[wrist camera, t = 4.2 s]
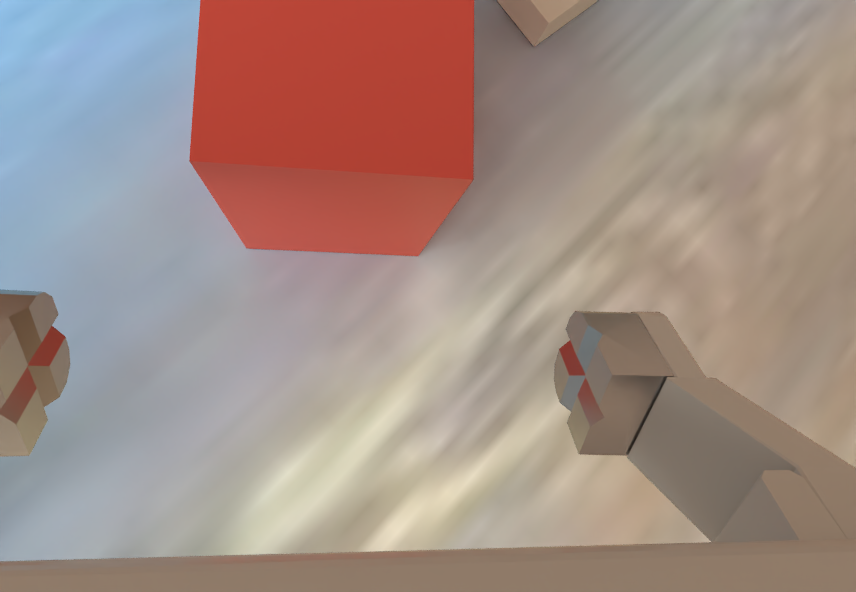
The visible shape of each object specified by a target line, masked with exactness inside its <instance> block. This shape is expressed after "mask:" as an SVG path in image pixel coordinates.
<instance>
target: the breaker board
mask: <svg viewBox="0 0 856 592" xmlns="http://www.w3.org/2000/svg"><path fill="white" fill-rule="evenodd" d="M497 1H498V3H499V4H500V5H501V6H502V8H503V9H504V10H505V11H506V13H507V14H508V15H509V16H510V18H511V19H512V20H513V21H514V23H515V24H516V25H517V26H518V27H519V29H520V30H521V31H522V32H523V34H524V35H525V36H526V37H527V39H528V40H529V41H530V42H531V44H532V45H533V46H534V47H535V46H536V45H538V44H539V43H540V42H542V41H543V40H545V39H546V38H547V37H549V36H550V35H552V34H553V33H554V32H556V31H557V30H558V29H560V28H561V27H563V26H564V25H565V24H567V23H568V22H570V21H571V20H572V19H574V18H575V17H576V16H578V15H579V14H581V13H582V12H583V11H585V10H586V9H588V8H589V7H590V6H592V5H593V4H594V3H596V2H597V1H599V0H497Z"/></svg>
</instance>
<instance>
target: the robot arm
mask: <svg viewBox="0 0 856 592" xmlns="http://www.w3.org/2000/svg"><path fill="white" fill-rule="evenodd" d="M57 316H58V311H57V309H56V306H55V303H54V300H53V298H52V296H50V295H49V294H47V293H45V292H36V291H18V290H0V456H29V455H30V453H31V451H32V450H33V448H34V446H35V444H36V442H37V440H38V438H39V436H40V434H41V432H42V430H43V428H44V426H45V425H46V423H47V421H48V418H47V416H46V413H45V410H44V407H45V406H47V405H48V404H50V403H51V402H53V401H54V400H56V399H57V398H59V397H60V395H61V393H62V391H63V389H64V387H65V385H66V383H67V378H68V373H69V368H70V354H69V347H68V344H67V340H66V337H65V336H64V335H63V334H61V333H60V332H59V331H58V330H56V329H55V328H54V327H53V326H52V324H53V323H54V321H55V319H56V317H57ZM566 331H567V334H568V336H569V338H570V341H569V342H567V343H566V344H565V345H564V346H562V347H561V348H560V349H559V351H558V355H557V358H556V361H555V369H554V382H555V389H556V393H557V396H558V399H559V402H560V403H561V404H562V405H564V406H565V407H566V408H567V409H568V410H570V411H571V414H570V416H569V419H568V422H567V424H568V426H569V429H570V432H571V435H572V437H573V440H574V443H575V445H576V448H577V451H578V453H579V454H588V455H628V457H627V458H628V459H629V460H630V461H631V462H632V463H633V464H634V465H635V466H636V467H637V468H638V469H639V470H640V471H641V472H642V473H643V474H644V475H645V476H646V477H647V478H648V479H649V480H650V481H651V482H652V483H653V484H654V485H655V486H656V487H657V488H658V489H659V490H660V491H661V492H662V493H663V494H664V495H665V496H666V497H667V498H668V499H669V500H670V501H671V502H672V503H673V504H674V505H675V506H676V507H677V508H678V509H679V510H680V511H681V512H682V513H683V514H684V515H685V516H686V517H687V518H688V519H689V520H690V521H691V522H692V523H693V524H694V525H695V526H696V527H697V528H698V529H699V530H700V531H701V532H702V533H703V534H704V535H705V536H706V537H707V538H708V539H709V540H710V541H711V542H709V543H671V544H633V545H595V546H558V547H522V548H486V549H450V550H414V551H376V552H338V553H300V554H262V555H224V556H186V557H148V558H111V559H74V560H36V561H0V592H856V468H855V467H853V466H851V465H850V464H848V463H847V462H845V461H844V460H842V459H841V458H839V457H837V456H836V455H834V454H833V453H831V452H830V451H828V450H827V449H825V448H823V447H822V446H820V445H819V444H817V443H816V442H814V441H812V440H811V439H809V438H808V437H806V436H805V435H803V434H802V433H800V432H798V431H797V430H795V429H794V428H792V427H791V426H789V425H787V424H786V423H784V422H783V421H781V420H780V419H778V418H777V417H775V416H773V415H772V414H770V413H769V412H767V411H766V410H764V409H762V408H761V407H759V406H758V405H756V404H755V403H753V402H752V401H750V400H748V399H747V398H745V397H744V396H742V395H741V394H739V393H737V392H736V391H734V390H733V389H731V388H730V387H728V386H727V385H725V384H723V383H722V382H720V381H719V380H717V379H716V378H706V376H705V375H704V373H703V372H702V370H701V369H700V367H699V366H698V364H697V363H696V361H695V360H694V358H693V356H692V355H691V353H690V352H689V350H688V349H687V347H686V346H685V344H684V343H683V341H682V340H681V338H680V337H679V335H678V333H677V332H676V330H675V329H674V327H673V326H672V324H671V323H670V321H669V320H668V318H667V317H666V316H665V315H664V314H662V313H660V312H631V313H624V312H591V311H575V312H574V313H573V314H572V316H571V317H570V319H569V322H568V324H567V327H566Z"/></svg>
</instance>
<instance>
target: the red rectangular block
mask: <svg viewBox="0 0 856 592" xmlns="http://www.w3.org/2000/svg"><path fill="white" fill-rule="evenodd" d="M473 133H474V0H201V1H200V16H199V30H198V45H197V59H196V74H195V88H194V103H193V117H192V132H191V146H190V163H191V164H192V166H193V167H194V169H195V170H196V172H197V173H198V175H199V176H200V178H201V179H202V181H203V182H204V184H205V186H206V187H207V189H208V190H209V192H210V193H211V195H212V196H213V198H214V199H215V201H216V202H217V204H218V205H219V207H220V208H221V210H222V211H223V213H224V215H225V216H226V218H227V219H228V221H229V222H230V224H231V225H232V227H233V228H234V230H235V231H236V233H237V234H238V236H239V237H240V239H241V240H242V242H243V244H244V245H245V247H246V248H249V249H271V250H293V251H315V252H337V253H359V254H382V255H404V256H418V255H419V254H420V253H421V251H422V250H423V249H424V247H425V246H426V244H427V243H428V242H429V240H430V239H431V238H432V236H433V235H434V233H435V232H436V231H437V229H438V228H439V226H440V225H441V224H442V222H443V221H444V220H445V218H446V217H447V215H448V214H449V213H450V211H451V210H452V208H453V207H454V206H455V204H456V203H457V202H458V200H459V199H460V197H461V196H462V195H463V193H464V192H465V190H466V189H467V188H468V186H469V185H470V184H471V182H472V181H473Z"/></svg>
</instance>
